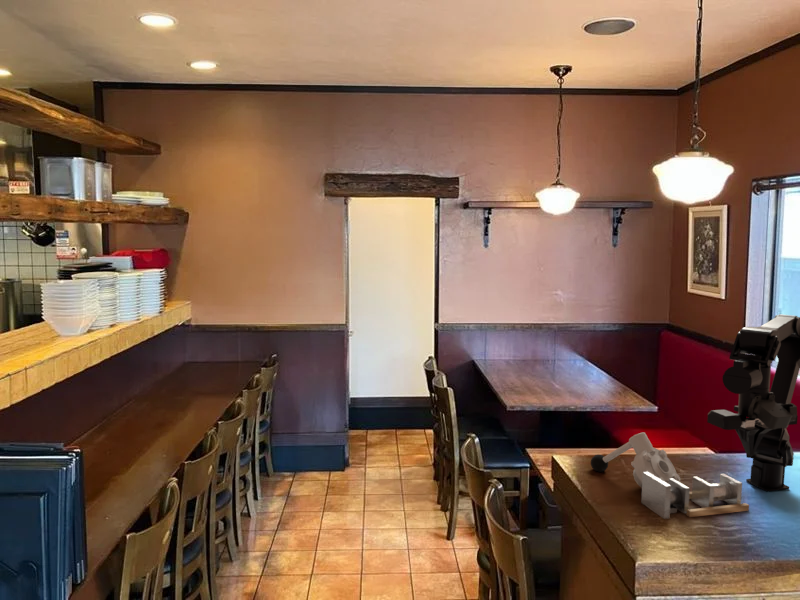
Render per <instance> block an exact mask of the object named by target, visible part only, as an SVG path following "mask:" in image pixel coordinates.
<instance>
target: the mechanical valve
mask: <svg viewBox="0 0 800 600" xmlns="http://www.w3.org/2000/svg"><path fill="white" fill-rule="evenodd" d="M630 449H633V451H634V453H635V455H634V458H633V461H631V462H630V464H631V466H632V468H634V469H633V472H632V475H633V479H634V481H635V482H636V484H637V485H638V486H639V487H640V488H641V489H642V478H643V472H649V473H651V474H652V475H654V476H656V477H657V478H659V479H661V480H662V481H664V482H666V483H667V484H669V479H671V478H673V479H675V480H677V481H679V482H680V483H681V477H680V475H679V474H678V473H677V471H676V469H675V466H674V464H673V463H672V461H671V460H670V458H669V457H668V454H667V452H666V451H665V450H664V449H661V450H660V449H658V448H657V447H653V444H652V443H651V441H650V439H649V438H648V435H647V434H646V432H640V433H636V434H633V436H631V437H630V438H629V439H628V442H626V443H624V444H623V445H621V446H620V447H618V448H616V449H614V450H613V451H611V452H610V453H608V454H607V455H603V454H595V455H594V456H592V458H590V466H591V467H592V469H593V470H594V471H596V472H597V471H598V472H599V473H602V472H605V471H606V470H607V469H608V466H609V462H610V461H612V460H613V459H615V458H617V457H619V456H620V455H622V454H623V453H626V452H627V451H628V450H630Z"/></svg>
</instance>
